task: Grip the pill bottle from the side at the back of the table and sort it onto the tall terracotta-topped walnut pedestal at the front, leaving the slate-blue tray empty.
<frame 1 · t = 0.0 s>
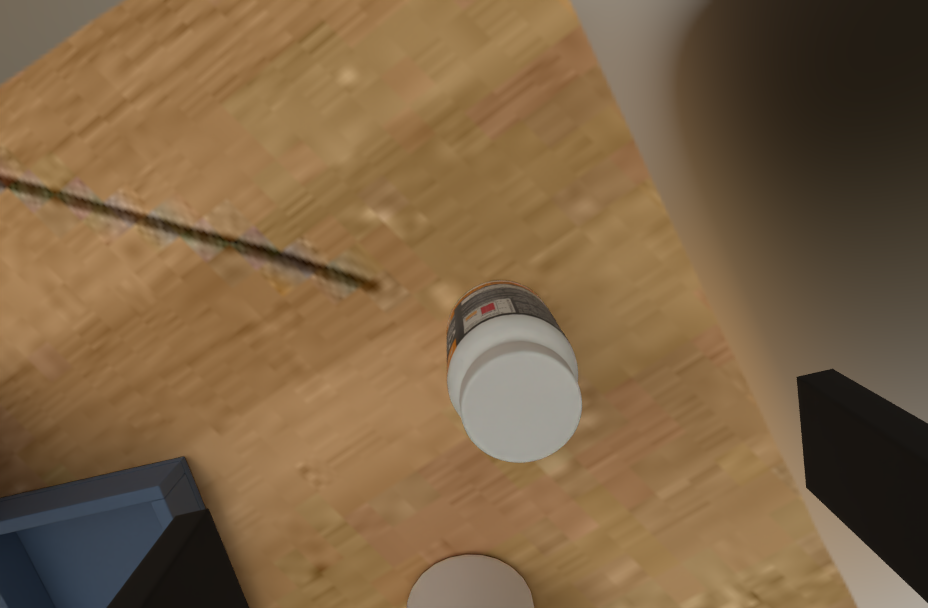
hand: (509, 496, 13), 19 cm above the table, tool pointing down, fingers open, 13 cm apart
pill bottle: (498, 327, 31), on the table
blue tray: (127, 560, 34), on the table
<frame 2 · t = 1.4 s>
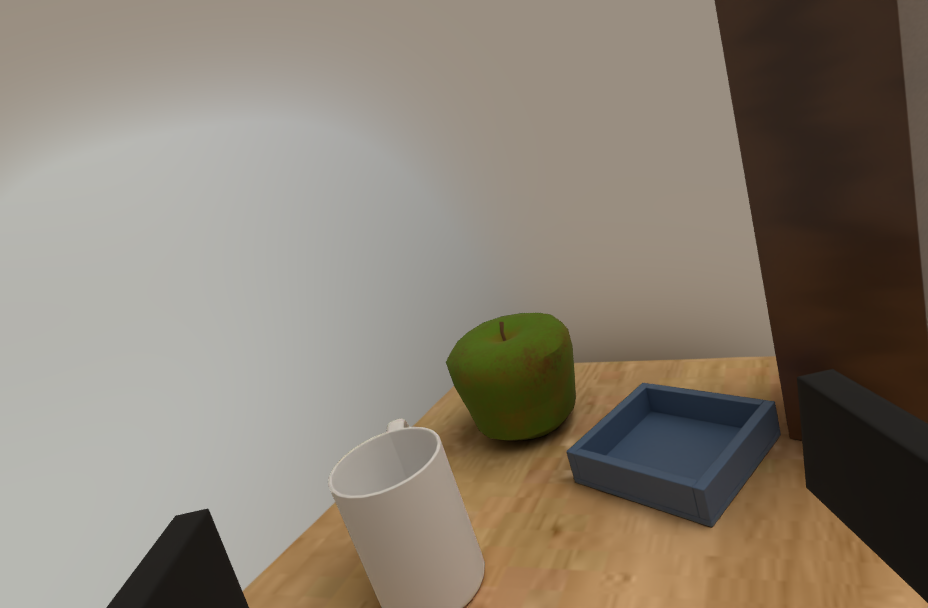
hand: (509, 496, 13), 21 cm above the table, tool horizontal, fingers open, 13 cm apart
mug: (434, 563, 43), on the table
blue tray: (675, 459, 46), on the table
apple: (531, 424, 58), on the table
stand: (876, 418, 43), on the table
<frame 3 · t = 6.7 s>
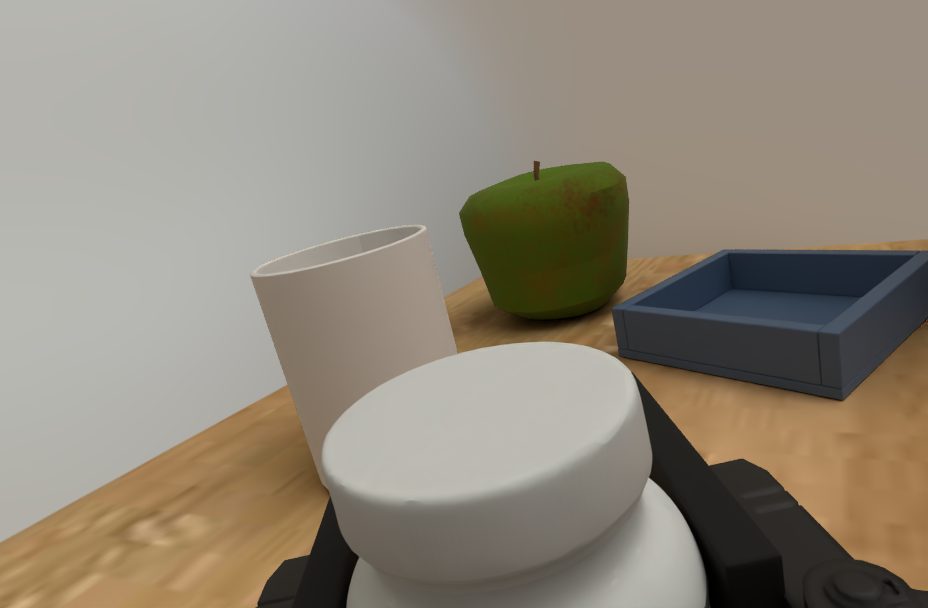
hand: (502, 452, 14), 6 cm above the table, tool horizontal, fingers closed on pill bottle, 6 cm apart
mug: (407, 435, 30), on the table
blue tray: (771, 332, 31), on the table
apple: (562, 309, 44), on the table
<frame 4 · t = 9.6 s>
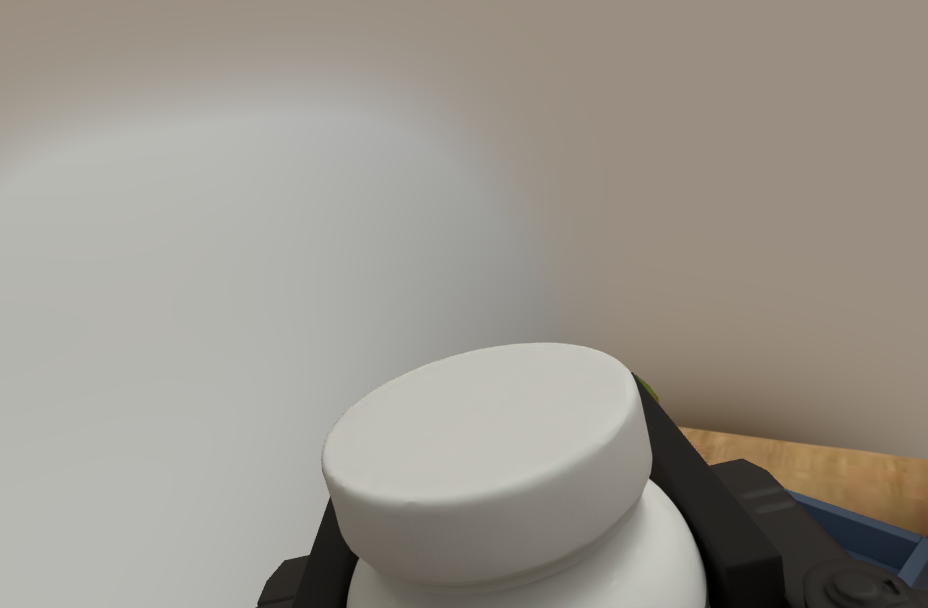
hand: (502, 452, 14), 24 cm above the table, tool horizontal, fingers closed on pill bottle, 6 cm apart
blue tray: (792, 591, 36), on the table
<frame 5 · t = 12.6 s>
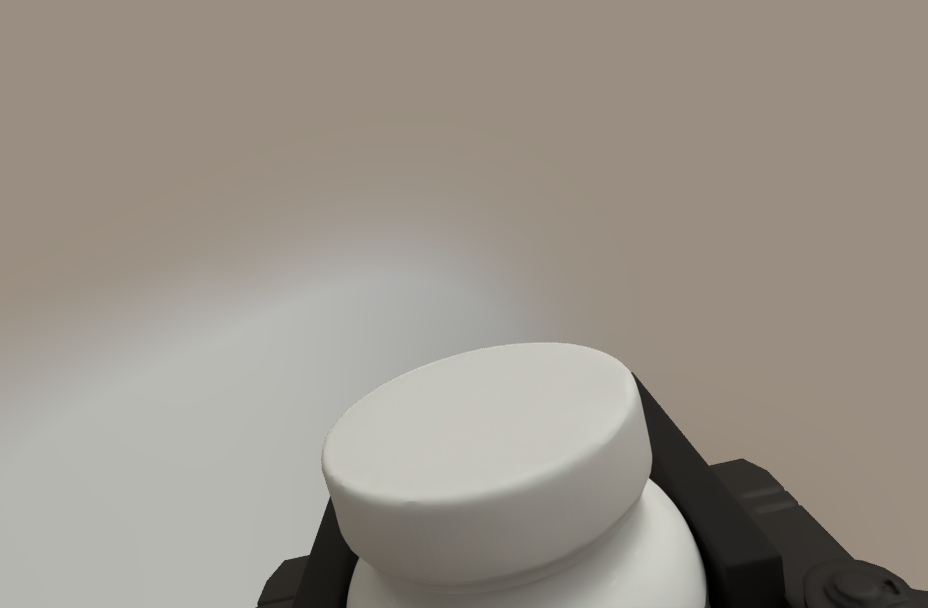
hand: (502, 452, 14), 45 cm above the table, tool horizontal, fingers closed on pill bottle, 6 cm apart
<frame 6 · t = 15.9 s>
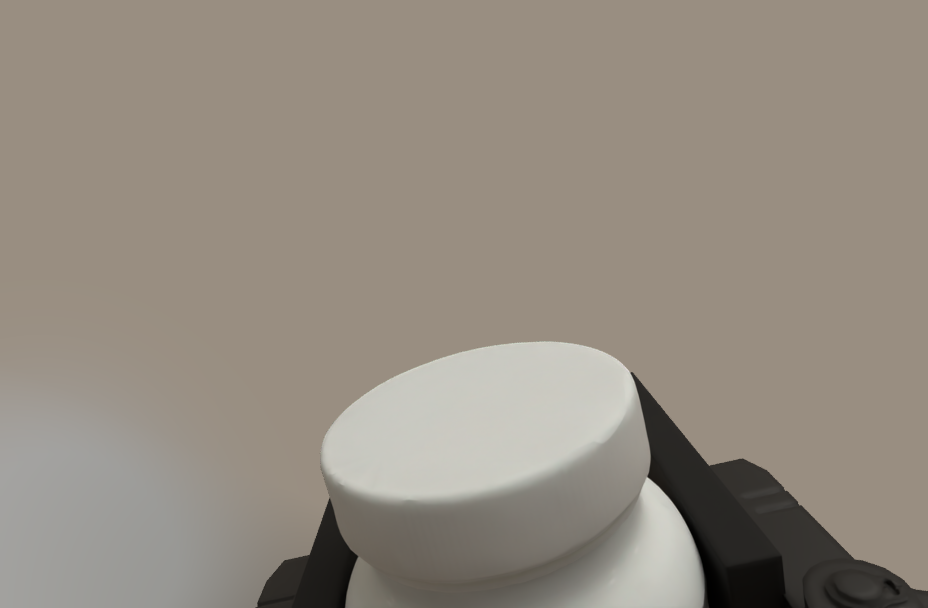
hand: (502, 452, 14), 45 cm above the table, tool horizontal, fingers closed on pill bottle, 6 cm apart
when the fingers open (42 cm above the table, at t = 18.6 s): pill bottle stays where it is, resting on stand.
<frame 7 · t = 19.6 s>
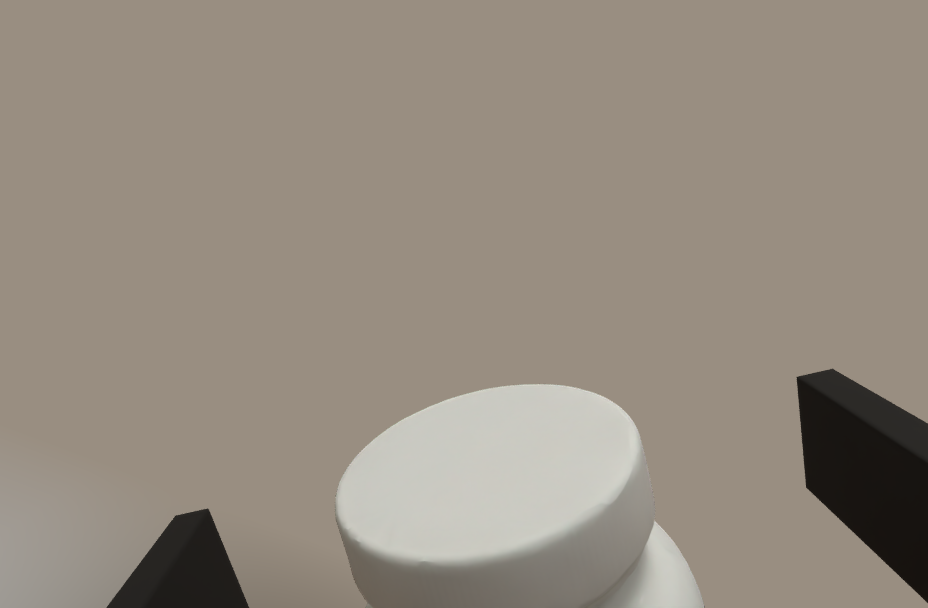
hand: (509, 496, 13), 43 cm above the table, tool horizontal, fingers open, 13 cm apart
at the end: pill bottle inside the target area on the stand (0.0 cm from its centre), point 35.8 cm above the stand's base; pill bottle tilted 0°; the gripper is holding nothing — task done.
